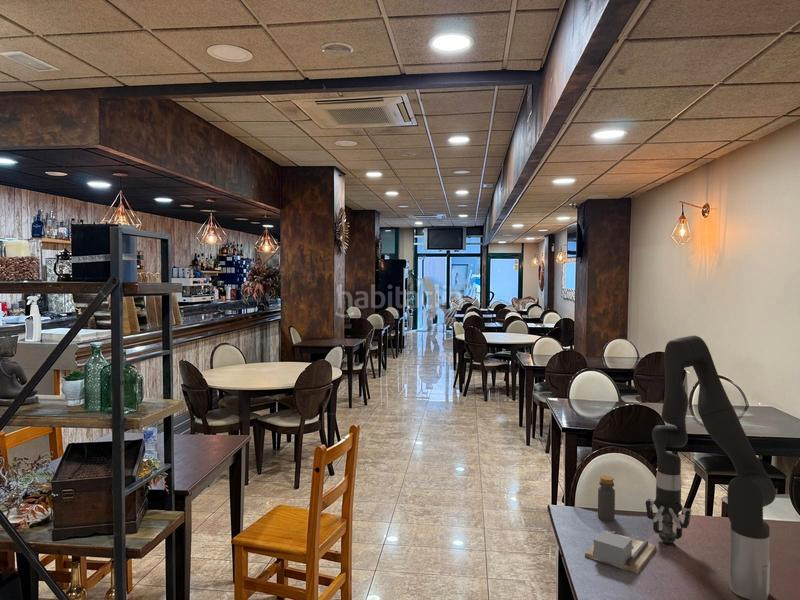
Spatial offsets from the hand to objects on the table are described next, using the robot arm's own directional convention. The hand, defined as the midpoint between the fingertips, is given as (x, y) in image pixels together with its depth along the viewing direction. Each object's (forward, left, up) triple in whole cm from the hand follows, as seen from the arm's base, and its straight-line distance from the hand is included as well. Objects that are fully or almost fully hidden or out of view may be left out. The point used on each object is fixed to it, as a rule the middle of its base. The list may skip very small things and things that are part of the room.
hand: (667, 535), depth 183 cm
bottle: (+23, -8, -3) cm, 25 cm away
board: (+10, +16, -3) cm, 19 cm away
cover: (+10, +24, -2) cm, 26 cm away
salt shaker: (0, 0, -3) cm, 3 cm away
